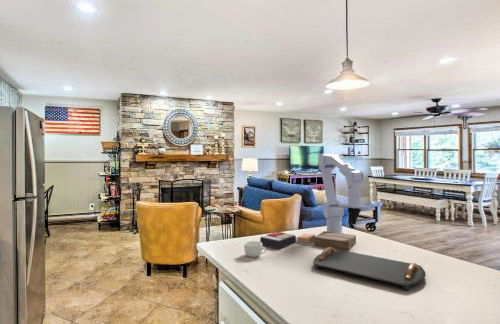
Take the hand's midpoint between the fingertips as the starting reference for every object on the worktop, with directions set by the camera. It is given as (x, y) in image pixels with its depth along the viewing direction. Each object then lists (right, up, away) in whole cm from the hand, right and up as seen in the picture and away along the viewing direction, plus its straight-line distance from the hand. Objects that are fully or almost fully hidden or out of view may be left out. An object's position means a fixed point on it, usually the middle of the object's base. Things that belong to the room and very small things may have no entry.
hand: (354, 224), depth 155 cm
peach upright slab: (-22, -7, +7) cm, 24 cm away
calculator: (-36, -10, +1) cm, 38 cm away
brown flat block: (-9, -10, 0) cm, 13 cm away
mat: (-21, -10, +8) cm, 25 cm away
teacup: (-48, -11, -17) cm, 52 cm away
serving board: (-7, -12, -34) cm, 37 cm away
